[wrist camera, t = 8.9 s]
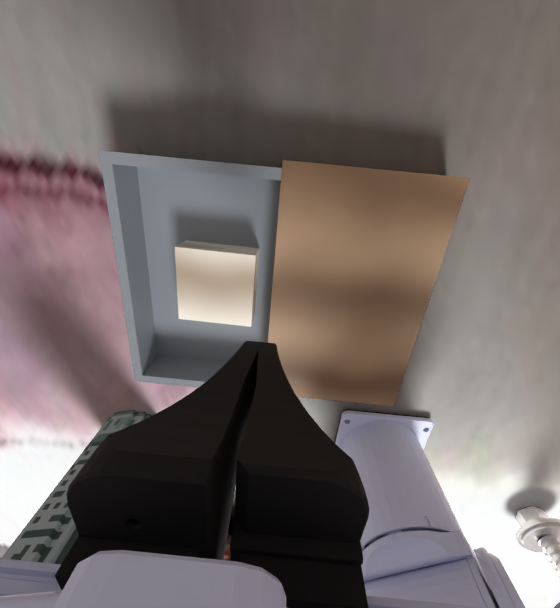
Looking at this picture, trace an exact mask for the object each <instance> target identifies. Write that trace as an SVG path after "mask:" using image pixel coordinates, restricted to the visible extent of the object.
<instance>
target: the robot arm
mask: <svg viewBox="0 0 560 608" xmlns="http://www.w3.org/2000/svg"><path fill="white" fill-rule="evenodd" d="M346 420H347V421H346ZM432 428H433V422H432V420H431V419H429V418H420V417H410V416H399V415H389V414H379V413H369V412H359V411H349V410H347V411H344V412H343V413H342V416H341V420H340V424H339V429H338V433H337V437H336V441H335V443H334V442H333V441H332V440H331V439H330V438H329V437H328V436H327V435H326V434H325V433H324V432H323V431H322V430H321V428H320V427H319V426H318V425H317V423H316V422H315V421H314V420H313V419H312V417H311V416H310V415H309V414H308V412H307V411H306V409H305V408H304V407H303V405H302V404H301V402H300V401H299V399H298V397H297V396H296V394H295V392H294V391H293V389H292V387H291V385H290V383H289V381H288V379H287V377H286V375H285V372H284V370H283V367H282V365H281V362H280V359H279V355H278V350H277V345H276V344H275V343H266V342H256V341H245V342H244V343H243V344H242V345H241V347H240V348H239V349H238V350H237V352H236V353H235V354H234V355H233V356H232V357H231V358H230V359H229V360H228V361H227V362H226V364H225V365H224V366H223V367H222V368H221V369H220V370H218V371H217V372H216V373H215V374H214V375H213V376H212V377H211V378H210V379H208V380H207V381H206V382H205V383H204V384H202V385H201V386H200V387H199V388H197V389H196V390H195V391H193V392H192V393H190V394H189V395H187V396H186V397H184V398H183V399H181V400H180V401H178V402H176V403H175V404H173V405H172V406H170V407H168V408H166V409H164V410H162V411H161V412H159V413H157V414H155V415H153V416H151V417H149V418H147V419H145V420H143V421H140V422H138V423H136V424H133V425H131V426H129V427H126V428H124V429H122V430H119V431H117V432H114V433H112V434H109V435H108V436H107V437H106V438H105V439H104V440H103V442H102V443H101V444H100V445H99V446H98V447H97V448H96V450H95V451H94V452H93V454H92V455H91V456H90V457H89V459H88V460H87V462H86V463H85V464H84V466H83V467H82V468H81V470H80V471H79V473H78V474H77V475H76V477H75V478H74V479H73V481H72V482H71V484H70V485H69V487H68V490H67V494H66V495H67V502H68V507H69V509H70V512H71V515H72V518H73V520H74V523H75V526H76V529H77V531H78V534H79V536H78V538H77V539H76V541H75V543H74V544H73V546H72V548H71V549H70V551H69V552H68V554H67V556H66V557H65V559H64V561H63V562H62V564H51V563H41V562H31V561H22V560H12V559H2V558H0V608H525V606H524V604H523V603H522V601H521V599H520V597H519V595H518V593H517V591H516V590H515V588H514V586H513V584H512V582H511V580H510V578H509V577H508V575H507V573H506V571H505V569H504V567H503V566H502V564H501V562H500V560H499V559H498V558H497V557H495V556H494V555H492V554H490V553H488V552H487V551H486V550H485V549H484V548H479V549H475V550H474V552H475V554H476V556H475V554H474V552H473V551H472V549H471V547H470V545H469V544H468V542H467V540H466V539H465V537H464V535H463V533H462V531H461V529H460V526H459V524H458V522H457V520H456V518H455V516H454V514H453V512H452V510H451V508H450V505H449V503H448V501H447V499H446V497H445V495H444V493H443V491H442V489H441V486H440V484H439V482H438V480H437V478H436V476H435V474H434V472H433V470H432V468H431V465H430V463H429V461H428V459H427V457H426V455H425V453H424V451H423V449H424V446H425V444H426V442H427V439H428V437H429V435H430V432H431V430H432ZM235 485H236V498H235V519H234V525H233V531H232V536H231V542H230V551H231V556H230V561H226V560H224V553H225V547H226V541H227V534H228V528H229V522H230V515H231V509H232V503H233V497H234V491H235ZM554 608H560V602H559V603H558V604H557V605H556V606H555V607H554Z"/></svg>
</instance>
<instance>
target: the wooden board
mask: <svg viewBox="0 0 560 608" xmlns="http://www.w3.org/2000/svg"><path fill="white" fill-rule="evenodd" d="M469 180H470V178H465V177H455V176H445V175H434V174H424V173H413V172H403V171H393V170H382V169H372V168H361V167H351V166H341V165H330V164H320V163H309V162H299V161H289V160H283V162H282V175H281V187H280V199H279V211H278V224H277V236H276V248H275V260H274V273H273V285H272V297H271V309H270V322H269V334H268V343H275V344H276V345H277V350H278V355H279V359H280V362H281V365H282V367H283V370H284V372H285V375H286V377H287V379H288V381H289V383H290V385H291V387H292V389H293V391H294V392H295V394H296V396H297V397H305V398H315V399H325V400H335V401H345V402H355V403H365V404H375V405H385V406H394V404H395V401H396V398H397V395H398V392H399V389H400V386H401V383H402V380H403V377H404V374H405V371H406V368H407V365H408V363H409V360H410V357H411V354H412V351H413V348H414V345H415V342H416V339H417V336H418V333H419V330H420V327H421V324H422V321H423V318H424V315H425V312H426V309H427V306H428V303H429V300H430V297H431V294H432V291H433V288H434V285H435V282H436V279H437V276H438V273H439V270H440V267H441V264H442V261H443V258H444V255H445V252H446V249H447V246H448V243H449V240H450V237H451V234H452V231H453V228H454V225H455V222H456V219H457V216H458V213H459V210H460V207H461V204H462V201H463V198H464V195H465V192H466V189H467V186H468V183H469Z"/></svg>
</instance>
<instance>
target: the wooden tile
mask: <svg viewBox="0 0 560 608" xmlns="http://www.w3.org/2000/svg"><path fill="white" fill-rule="evenodd" d="M175 261H176V279H177V297H178V315H179V319H184V320H193V321H202V322H212V323H221V324H230V325H239V326H249V327H251V326H252V322H253V319H254V315H255V304H256V290H257V275H258V261H259V248H253V247H244V246H235V245H225V244H216V243H207V242H198V241H189V240H186V241H184V242H182V243H180V244H179V245H177V246H175Z"/></svg>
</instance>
